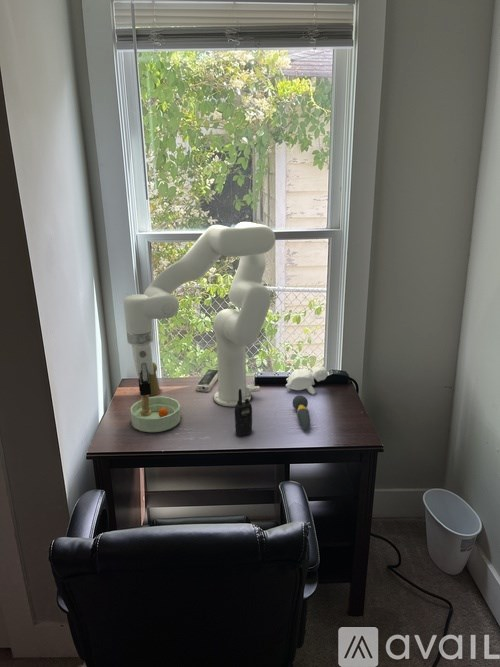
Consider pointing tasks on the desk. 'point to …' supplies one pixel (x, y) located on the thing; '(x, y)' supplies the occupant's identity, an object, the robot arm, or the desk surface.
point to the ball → (163, 412)
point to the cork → (154, 382)
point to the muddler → (145, 406)
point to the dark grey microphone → (302, 411)
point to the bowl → (156, 415)
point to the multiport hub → (207, 381)
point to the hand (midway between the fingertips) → (145, 392)
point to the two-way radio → (243, 416)
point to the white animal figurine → (305, 378)
